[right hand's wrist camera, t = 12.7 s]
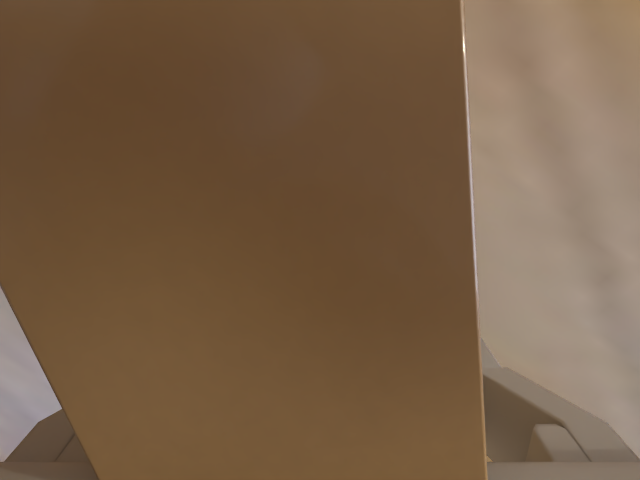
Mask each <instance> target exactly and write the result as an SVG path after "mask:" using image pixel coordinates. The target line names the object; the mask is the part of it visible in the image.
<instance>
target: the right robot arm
mask: <svg viewBox="0 0 640 480" xmlns="http://www.w3.org/2000/svg"><path fill="white" fill-rule="evenodd" d="M481 354H482V374H483V394H484V414H485V434H486V455H487V456H488V457H489V458H490V459H491V460H492V461H493V462H487V475H488V480H640V459H639V458H638V457H637V456H636V455H635V454H634V452H633V451H632V450H631V449H630V448H629V447H628V446H627V445H626V443H625V442H624V441H623V440H622V439H621V438H620V437H619V435H618V434H617V433H616V432H615V431H614V430H613V429H612V427H611V426H610V425H609V424H608V423H607V422H605V421H603V420H601V419H599V418H598V417H596V416H594V415H592V414H590V413H589V412H587V411H585V410H583V409H581V408H580V407H578V406H576V405H574V404H572V403H571V402H569V401H567V400H565V399H563V398H562V397H560V396H558V395H556V394H554V393H553V392H551V391H549V390H547V389H545V388H544V387H542V386H540V385H538V384H536V383H535V382H533V381H531V380H529V379H527V378H526V377H524V376H522V375H520V374H518V373H516V372H515V371H513V370H511V369H509V368H503V367H501V366H500V364H499V363H498V362H497V360H496V359H495V357H494V356H493V354H492V353H491V351H490V350H489V348H488V347H487V345H486V344H485V343H484V341H483V340H482V338H481ZM0 480H98V478H97V476H96V474H95V472H94V470H93V468H92V466H91V464H90V462H89V460H88V458H87V456H86V454H85V452H84V450H83V448H82V446H81V444H80V442H79V440H78V438H77V437H76V435H75V433H74V431H73V429H72V427H71V425H70V423H69V421H68V419H67V417H66V415H65V413H64V411H63V409H61V410H60V411H58V412H56V413H54V414H52V415H51V416H49V417H47V418H45V419H43V420H42V421H40V422H38V423H37V424H36V426H35V427H34V428H33V429H32V430H31V431H30V432H29V434H28V435H27V436H26V437H25V438H24V439H23V440H22V442H21V443H20V444H19V445H18V446H17V447H16V449H15V450H14V451H13V452H12V453H11V454H10V455H9V457H8V458H7V459H6V460H5V461H4V462H0Z"/></svg>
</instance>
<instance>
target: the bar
mask: <svg viewBox="0 0 640 480" xmlns="http://www.w3.org/2000/svg"><path fill="white" fill-rule="evenodd" d="M0 286H1V288H2V290H3V292H4V294H5V296H6V298H7V300H8V302H9V304H10V306H11V308H12V310H13V312H14V314H15V316H16V318H17V320H18V322H19V324H20V326H21V328H22V330H23V332H24V334H25V336H26V338H27V340H28V342H29V344H30V346H31V348H32V350H33V352H34V354H35V355H36V357H37V359H38V361H39V363H40V365H41V367H42V369H43V371H44V373H45V375H46V377H47V379H48V381H49V383H50V385H51V387H52V389H53V391H54V393H55V395H56V397H57V399H58V401H59V403H60V405H61V407H62V409H63V411H64V413H65V415H66V417H67V419H68V421H69V423H70V425H71V427H72V429H73V431H74V433H75V435H76V437H77V438H78V440H79V442H80V444H81V446H82V448H83V450H84V452H85V454H86V456H87V458H88V460H89V462H90V464H91V466H92V468H93V470H94V472H95V474H96V476H97V478H98V480H488V475H487V455H486V434H485V414H484V394H483V374H482V354H481V333H480V313H479V293H478V273H477V253H476V232H475V212H474V192H473V172H472V151H471V131H470V111H469V91H468V71H467V50H466V30H465V10H464V0H0Z"/></svg>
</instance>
